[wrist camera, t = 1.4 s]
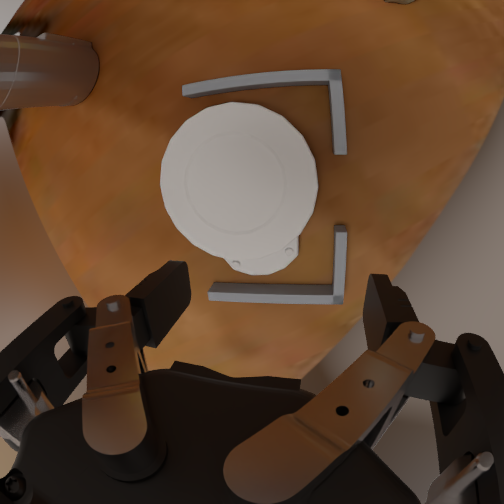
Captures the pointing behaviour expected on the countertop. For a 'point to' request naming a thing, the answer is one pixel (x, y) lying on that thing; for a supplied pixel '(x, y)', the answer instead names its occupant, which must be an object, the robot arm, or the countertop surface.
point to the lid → (240, 185)
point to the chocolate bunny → (400, 1)
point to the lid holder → (334, 82)
